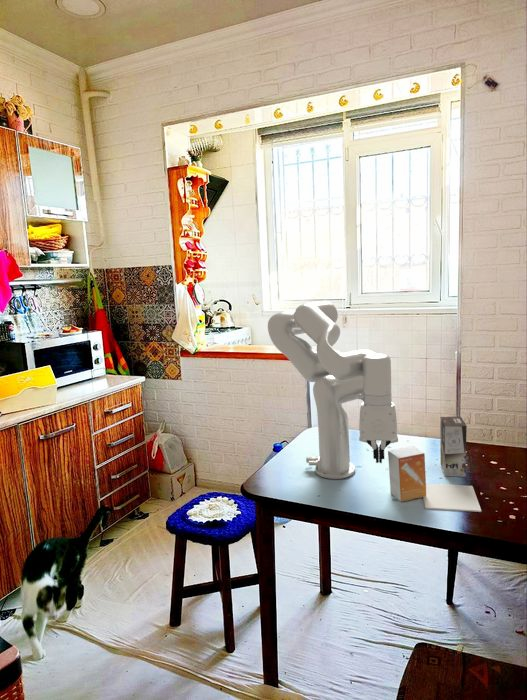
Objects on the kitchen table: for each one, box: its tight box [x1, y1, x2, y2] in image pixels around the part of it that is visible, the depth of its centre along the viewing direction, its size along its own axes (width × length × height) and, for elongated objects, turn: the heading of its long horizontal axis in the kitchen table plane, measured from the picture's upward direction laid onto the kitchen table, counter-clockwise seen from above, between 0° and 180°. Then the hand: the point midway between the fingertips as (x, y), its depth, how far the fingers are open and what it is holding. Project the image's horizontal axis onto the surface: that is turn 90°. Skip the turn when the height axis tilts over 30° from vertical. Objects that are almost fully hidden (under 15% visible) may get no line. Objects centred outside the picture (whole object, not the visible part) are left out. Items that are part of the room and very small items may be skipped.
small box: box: [387, 445, 427, 502], centre depth 140 cm, size 8×6×13 cm
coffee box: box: [439, 416, 468, 477], centre depth 153 cm, size 9×6×16 cm
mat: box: [422, 483, 482, 513], centre depth 138 cm, size 14×14×1 cm
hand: (379, 460), depth 141 cm, fingers closed
